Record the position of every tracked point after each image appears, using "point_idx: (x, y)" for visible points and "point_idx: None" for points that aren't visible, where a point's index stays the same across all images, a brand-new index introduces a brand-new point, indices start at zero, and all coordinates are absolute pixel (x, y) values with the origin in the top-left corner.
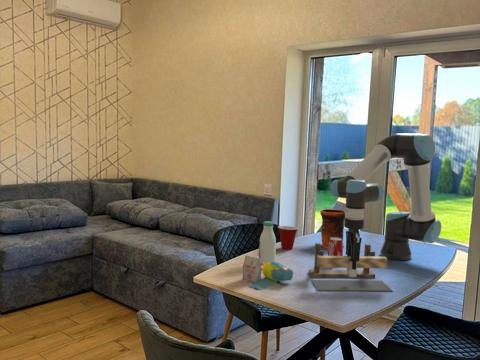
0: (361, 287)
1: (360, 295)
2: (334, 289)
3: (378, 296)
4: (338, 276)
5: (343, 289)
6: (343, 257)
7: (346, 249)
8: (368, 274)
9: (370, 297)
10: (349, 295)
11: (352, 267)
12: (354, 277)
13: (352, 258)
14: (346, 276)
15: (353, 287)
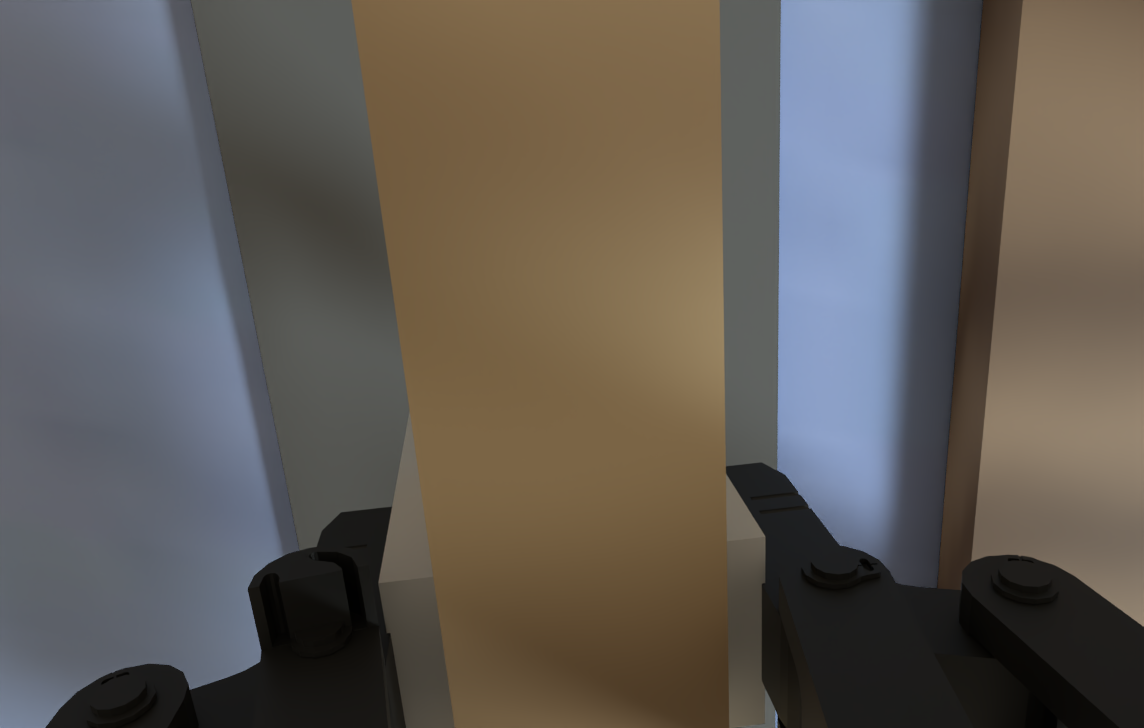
0: None
1: (91, 434)
2: (221, 10)
3: None
4: (974, 236)
5: (261, 193)
6: (492, 396)
7: (1116, 696)
8: None
9: (38, 564)
10: (37, 253)
11: (343, 537)
12: (945, 495)
13: (172, 715)
14: (964, 376)
15: (403, 390)
